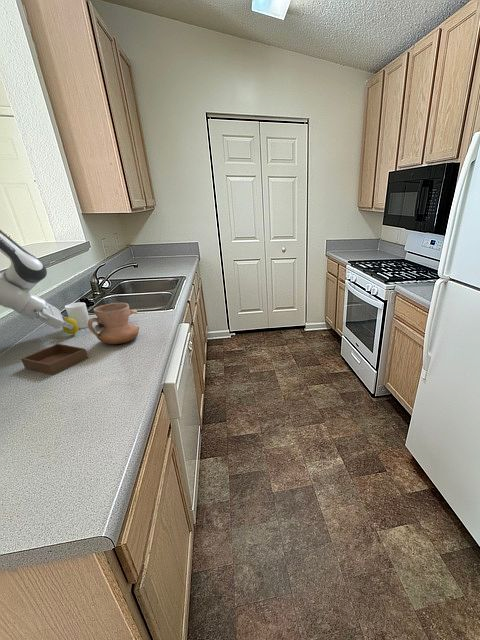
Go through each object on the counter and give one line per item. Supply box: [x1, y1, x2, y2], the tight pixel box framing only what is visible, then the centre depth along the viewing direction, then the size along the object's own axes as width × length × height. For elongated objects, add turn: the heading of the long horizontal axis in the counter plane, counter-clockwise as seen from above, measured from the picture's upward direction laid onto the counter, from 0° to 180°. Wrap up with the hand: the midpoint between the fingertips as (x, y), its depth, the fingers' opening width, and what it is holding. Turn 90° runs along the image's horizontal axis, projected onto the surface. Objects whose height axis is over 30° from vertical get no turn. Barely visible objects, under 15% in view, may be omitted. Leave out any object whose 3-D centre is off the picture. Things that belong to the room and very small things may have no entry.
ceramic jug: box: [87, 302, 140, 345], centre depth 131 cm, size 18×14×14 cm
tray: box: [20, 343, 89, 376], centre depth 117 cm, size 14×13×4 cm
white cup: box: [64, 301, 90, 330], centre depth 148 cm, size 8×8×10 cm
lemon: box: [61, 316, 80, 336], centre depth 139 cm, size 6×6×8 cm
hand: (71, 325), depth 139 cm, fingers closed on lemon, 5 cm apart
